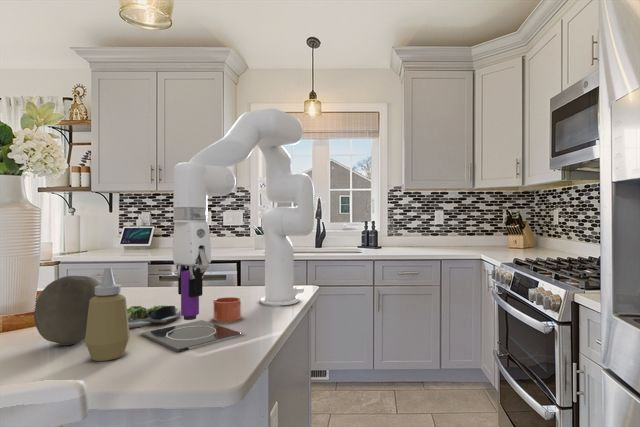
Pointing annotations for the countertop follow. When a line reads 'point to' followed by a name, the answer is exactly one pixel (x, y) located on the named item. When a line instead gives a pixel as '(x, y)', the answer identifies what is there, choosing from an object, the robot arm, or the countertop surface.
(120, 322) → the squeeze bottle
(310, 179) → the robot arm
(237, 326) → the countertop surface
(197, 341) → the slate board
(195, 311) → the cylinder
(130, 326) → the salad plate
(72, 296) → the cantaloupe
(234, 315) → the pen pot
